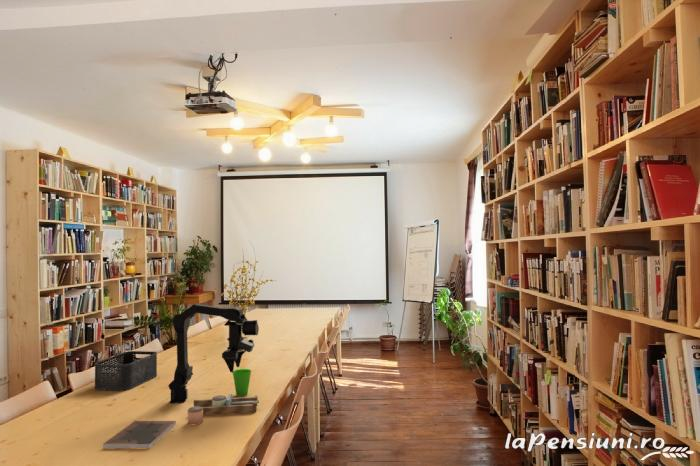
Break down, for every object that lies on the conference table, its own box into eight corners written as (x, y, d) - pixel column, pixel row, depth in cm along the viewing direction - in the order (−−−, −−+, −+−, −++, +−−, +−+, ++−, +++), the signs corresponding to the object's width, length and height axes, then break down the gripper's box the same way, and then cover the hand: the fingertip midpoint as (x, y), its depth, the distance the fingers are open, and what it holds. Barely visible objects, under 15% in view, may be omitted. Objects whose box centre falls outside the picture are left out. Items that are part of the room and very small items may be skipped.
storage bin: (126, 391, 222) (126, 364, 223) (91, 390, 225) (91, 363, 226) (159, 375, 250) (159, 351, 251) (127, 374, 253) (127, 350, 254)
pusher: (226, 412, 190) (226, 400, 191) (228, 405, 198) (228, 394, 199) (258, 410, 192) (258, 398, 192) (259, 403, 200) (259, 392, 201)
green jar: (210, 412, 191) (211, 399, 191) (213, 408, 196) (213, 395, 197) (225, 412, 191) (225, 399, 192) (226, 407, 197) (226, 394, 197)
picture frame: (149, 450, 156) (176, 426, 177) (149, 443, 156) (176, 420, 177) (102, 450, 156) (134, 426, 178) (102, 443, 156) (134, 420, 178)
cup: (232, 398, 209) (232, 374, 210) (231, 392, 218) (231, 369, 218) (252, 396, 212) (252, 372, 212) (251, 390, 220) (251, 368, 221)
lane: (188, 416, 187) (188, 407, 187) (194, 407, 198) (194, 398, 198) (255, 412, 190) (255, 403, 191) (257, 403, 202) (257, 395, 202)
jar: (186, 425, 177) (186, 411, 177) (189, 420, 182) (189, 406, 183) (201, 424, 178) (201, 410, 178) (204, 419, 183) (204, 405, 184)
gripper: (246, 339, 197) (246, 375, 197) (257, 331, 216) (257, 364, 215) (221, 339, 198) (221, 375, 197) (234, 331, 217) (234, 364, 216)
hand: (234, 369), depth 206 cm, fingers open, 9 cm apart
